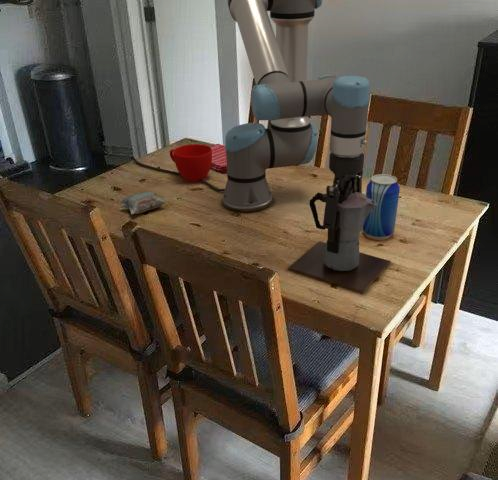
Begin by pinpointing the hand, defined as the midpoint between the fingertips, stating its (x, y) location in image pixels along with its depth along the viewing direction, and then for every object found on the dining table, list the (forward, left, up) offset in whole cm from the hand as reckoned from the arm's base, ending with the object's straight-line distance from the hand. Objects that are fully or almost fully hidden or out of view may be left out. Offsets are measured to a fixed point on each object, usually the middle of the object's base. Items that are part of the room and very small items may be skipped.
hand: (340, 244), depth 131 cm
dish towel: (-72, +46, -7) cm, 86 cm away
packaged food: (-66, -1, -7) cm, 66 cm away
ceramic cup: (-71, +27, -7) cm, 76 cm away
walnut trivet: (0, 0, -6) cm, 6 cm away
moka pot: (0, 0, -5) cm, 5 cm away
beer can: (+1, +21, -7) cm, 22 cm away
